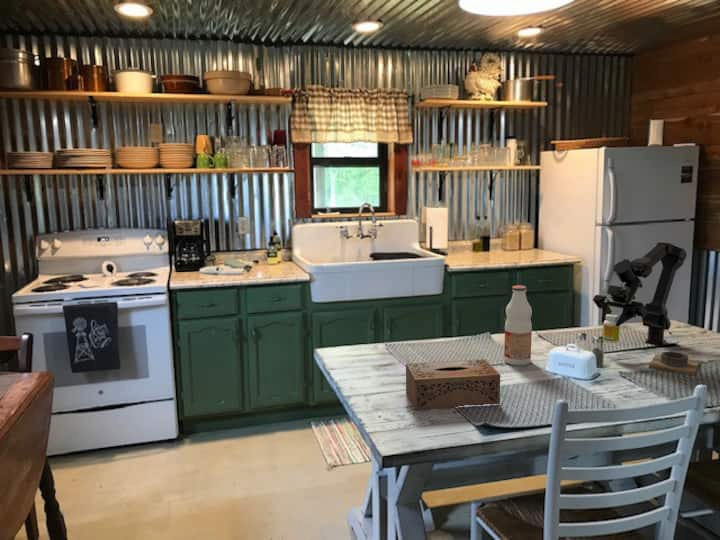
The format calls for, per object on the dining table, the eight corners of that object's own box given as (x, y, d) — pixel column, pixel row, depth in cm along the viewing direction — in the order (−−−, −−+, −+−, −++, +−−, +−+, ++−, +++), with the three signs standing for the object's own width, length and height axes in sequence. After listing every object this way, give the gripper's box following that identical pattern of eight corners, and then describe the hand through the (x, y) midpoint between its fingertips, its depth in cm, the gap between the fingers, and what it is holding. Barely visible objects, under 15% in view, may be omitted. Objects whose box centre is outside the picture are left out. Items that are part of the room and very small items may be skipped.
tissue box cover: (484, 388, 193) (485, 359, 191) (499, 406, 179) (500, 374, 177) (406, 393, 190) (405, 363, 189) (415, 411, 176) (415, 379, 175)
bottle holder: (655, 357, 220) (656, 346, 219) (698, 363, 212) (699, 352, 211) (648, 368, 208) (649, 357, 208) (694, 375, 200) (695, 364, 200)
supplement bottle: (616, 344, 214) (617, 317, 213) (600, 341, 218) (602, 315, 216) (620, 340, 219) (621, 314, 217) (605, 338, 222) (606, 312, 220)
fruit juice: (520, 368, 211) (522, 290, 206) (498, 361, 218) (500, 286, 213) (536, 362, 217) (538, 286, 212) (514, 356, 224) (516, 282, 219)
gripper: (596, 273, 224) (577, 306, 219) (644, 280, 209) (625, 316, 204) (607, 290, 230) (589, 323, 225) (655, 299, 215) (636, 334, 210)
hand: (609, 324), depth 216 cm, fingers closed on supplement bottle, 5 cm apart
